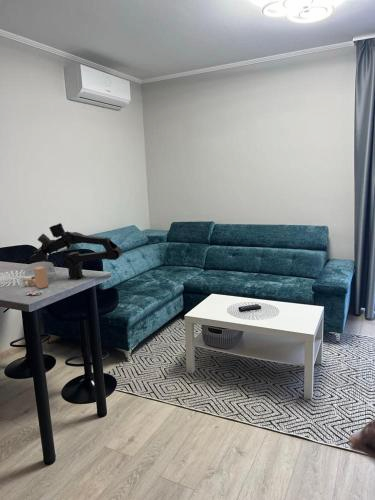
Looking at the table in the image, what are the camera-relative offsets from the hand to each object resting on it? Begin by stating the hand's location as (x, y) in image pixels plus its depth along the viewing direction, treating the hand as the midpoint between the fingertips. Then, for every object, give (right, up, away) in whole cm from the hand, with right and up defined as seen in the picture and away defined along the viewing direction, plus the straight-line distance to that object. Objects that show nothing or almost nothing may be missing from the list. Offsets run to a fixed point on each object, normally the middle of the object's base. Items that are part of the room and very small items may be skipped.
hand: (31, 256), depth 200 cm
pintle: (+3, -15, -5) cm, 16 cm away
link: (+7, -15, -8) cm, 18 cm away
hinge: (+1, -13, +11) cm, 16 cm away
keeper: (+1, -16, -7) cm, 17 cm away
